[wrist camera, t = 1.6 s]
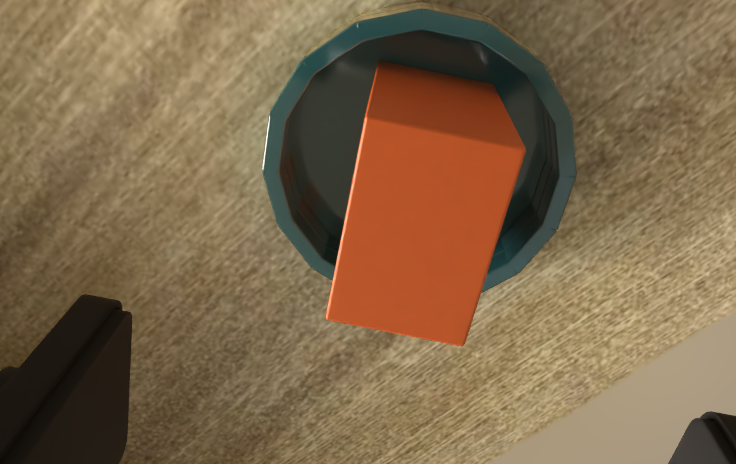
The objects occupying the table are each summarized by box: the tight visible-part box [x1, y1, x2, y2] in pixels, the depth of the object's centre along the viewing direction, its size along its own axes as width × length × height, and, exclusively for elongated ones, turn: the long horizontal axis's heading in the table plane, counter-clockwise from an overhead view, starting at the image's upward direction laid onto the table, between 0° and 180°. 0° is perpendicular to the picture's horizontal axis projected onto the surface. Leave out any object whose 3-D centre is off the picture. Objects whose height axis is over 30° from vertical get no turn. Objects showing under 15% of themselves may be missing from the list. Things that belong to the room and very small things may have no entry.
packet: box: [326, 61, 526, 346], centre depth 20 cm, size 4×6×7 cm, turn 169°
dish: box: [262, 2, 577, 293], centre depth 22 cm, size 10×10×2 cm
